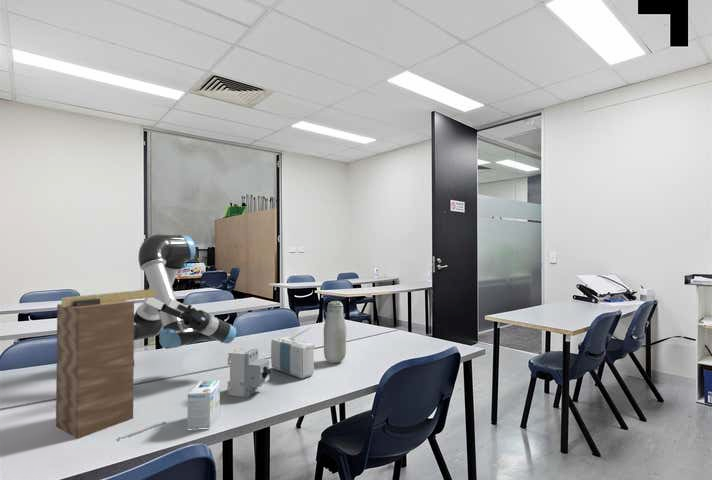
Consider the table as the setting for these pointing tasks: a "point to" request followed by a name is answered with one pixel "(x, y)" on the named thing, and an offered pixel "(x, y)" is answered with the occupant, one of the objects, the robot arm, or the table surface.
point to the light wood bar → (110, 297)
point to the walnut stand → (94, 366)
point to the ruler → (141, 430)
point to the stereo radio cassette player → (293, 356)
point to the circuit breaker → (246, 371)
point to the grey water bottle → (334, 333)
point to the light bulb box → (203, 404)
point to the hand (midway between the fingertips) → (157, 300)
